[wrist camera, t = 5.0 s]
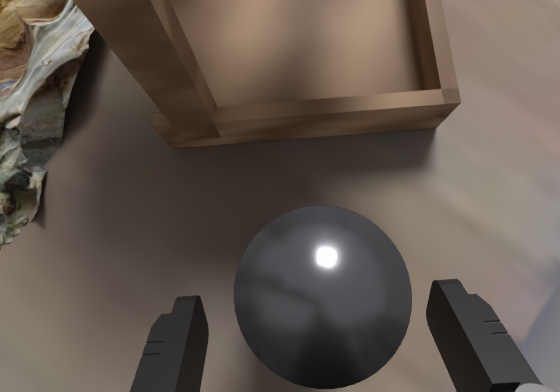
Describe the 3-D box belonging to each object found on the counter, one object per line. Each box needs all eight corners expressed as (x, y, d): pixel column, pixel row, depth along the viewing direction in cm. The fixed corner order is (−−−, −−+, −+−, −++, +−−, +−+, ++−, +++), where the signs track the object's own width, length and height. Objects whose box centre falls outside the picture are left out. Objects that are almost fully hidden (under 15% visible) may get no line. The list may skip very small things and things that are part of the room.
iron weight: (267, 330, 18) (237, 394, 8) (262, 243, 19) (230, 211, 9) (354, 325, 18) (425, 383, 8) (344, 238, 19) (398, 199, 9)
